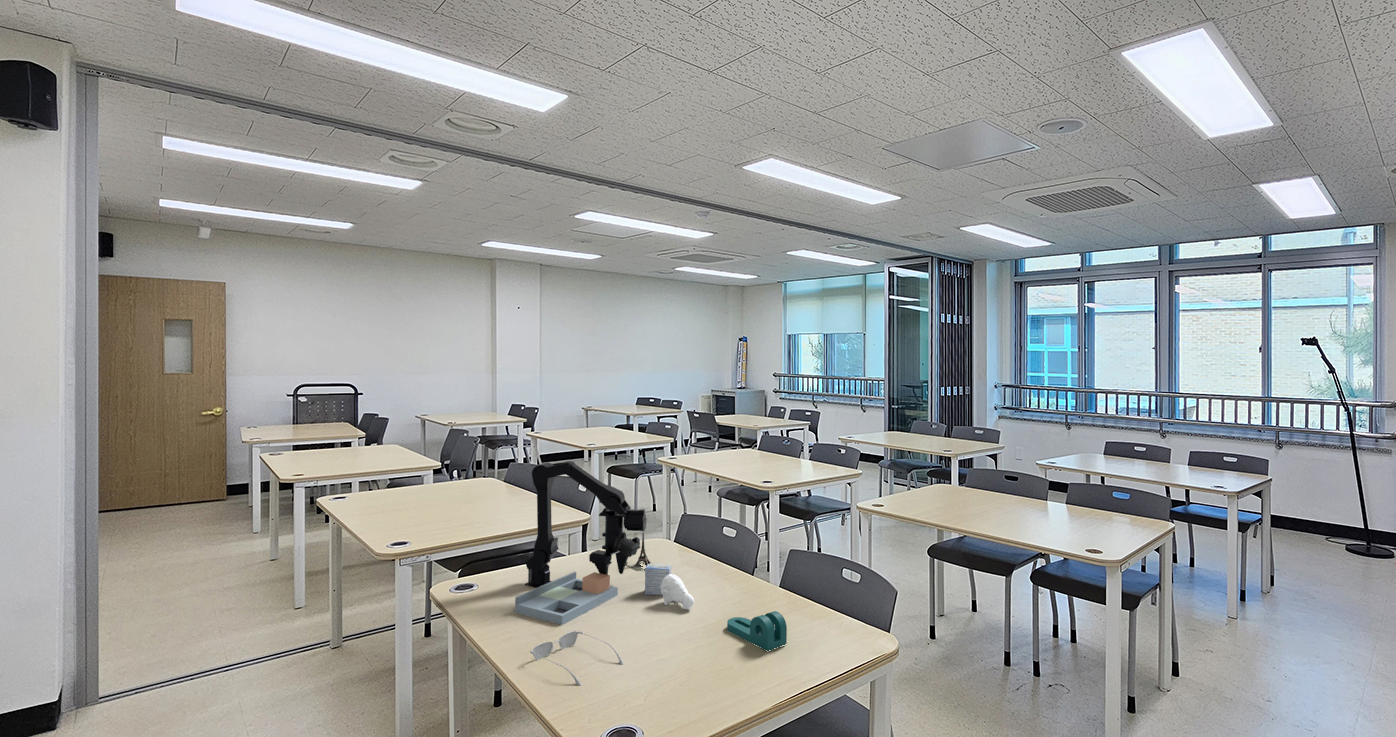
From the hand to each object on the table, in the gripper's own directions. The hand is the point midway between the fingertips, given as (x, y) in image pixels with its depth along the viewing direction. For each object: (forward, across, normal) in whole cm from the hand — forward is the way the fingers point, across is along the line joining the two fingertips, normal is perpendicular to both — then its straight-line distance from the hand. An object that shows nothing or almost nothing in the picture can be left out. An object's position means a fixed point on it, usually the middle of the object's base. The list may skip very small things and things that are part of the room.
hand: (613, 577), depth 204 cm
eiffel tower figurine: (+4, +25, +5) cm, 26 cm away
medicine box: (+4, +4, -15) cm, 16 cm away
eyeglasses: (+4, -46, -22) cm, 52 cm away
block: (+1, -9, 0) cm, 9 cm away
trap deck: (+4, -18, +4) cm, 18 cm away
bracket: (+4, -11, -54) cm, 55 cm away
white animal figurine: (+4, -2, -26) cm, 26 cm away
